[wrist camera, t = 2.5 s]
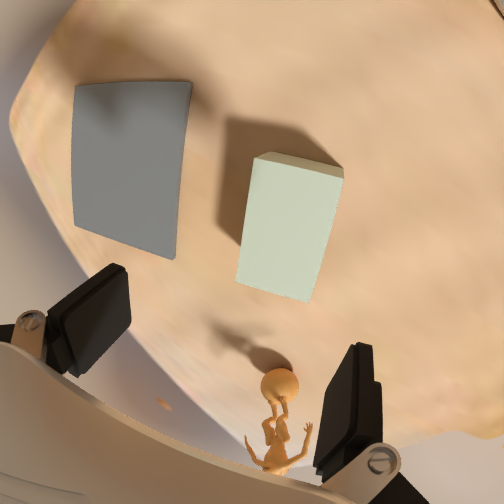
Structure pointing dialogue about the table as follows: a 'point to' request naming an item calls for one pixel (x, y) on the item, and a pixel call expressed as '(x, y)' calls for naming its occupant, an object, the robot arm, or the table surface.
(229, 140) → the table surface
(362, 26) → the table surface
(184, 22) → the table surface
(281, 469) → the figurine
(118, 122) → the mat
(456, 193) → the table surface
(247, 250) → the card box
